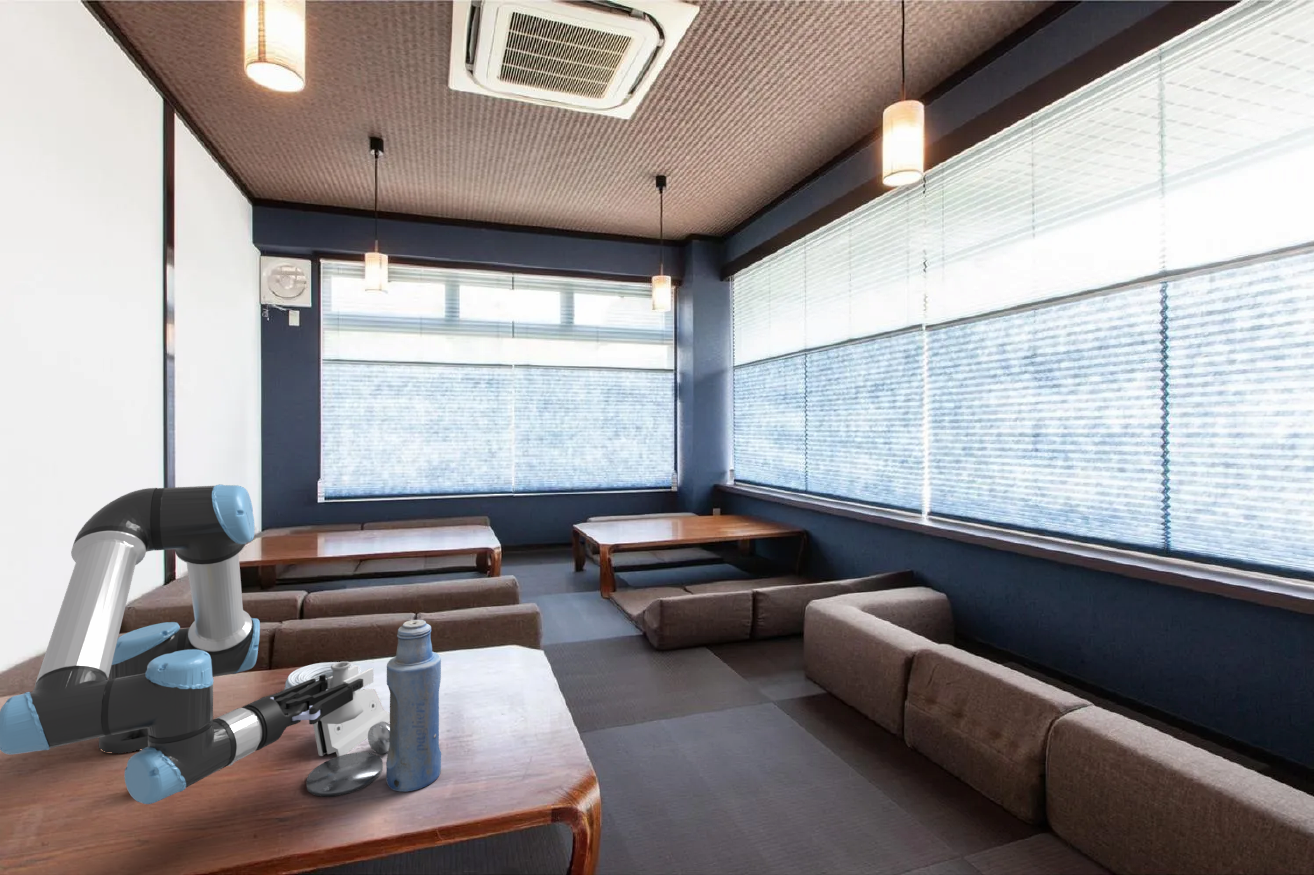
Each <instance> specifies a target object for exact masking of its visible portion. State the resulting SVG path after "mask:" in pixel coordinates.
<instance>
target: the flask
mask: <svg viewBox="0 0 1314 875" xmlns="http://www.w3.org/2000/svg"><path fill="white" fill-rule="evenodd" d="M338 662H339V661H338ZM351 664H352V663H351V662H350V661H340V662H339V663H335V664H333V665H332V666H331V669H332V670H333V677H332V682H331V687H330V689H331V688H334V687H336V686H339V685H341V684H343V681H344V680H346V679H349V678H350V676H349V667H350V666H351ZM362 712H363V709H362V707H361V704H360V702H359V700H358V698H357V696H356V694H355V692H353V700H352V701H350V702H349V703H347V704H345V705H343V706H342V707H340V708H338V709H336V710H335V711H333V712H331V713H329V714H328V715H326V716H324V717H322V718H321V719H320V720H321V721H322V722H323V723H324V724H341V723H343V722H346V721H349V720H352V719H355V718H356V717H357V716H358V715H360V714H361V713H362Z"/></svg>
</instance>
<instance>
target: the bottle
mask: <svg viewBox="0 0 1314 875" xmlns="http://www.w3.org/2000/svg"><path fill="white" fill-rule="evenodd" d="M431 632H432V626H431V625H430V624H428V623H427V622H426V620H423V619H411V620H407V621H405V622H404V623H403V624H402V625H401V626H399V628H398V629H397V633H396V637H397V647H396V655H395V656H394V657H391V659H389V661H388V662H387V663H386V685H387V687H388V690H389V714H390V722H389V724H390V736H389V738H390V741H389V750H388V751H387V757H386V763H385V765H386V772H385V774H386V784H387V785H388V787H389V788H390V789H391V790H393V791H397V792H412V791H417V790H420V789H423V788H424V787H427V786H429V785H431V784H432V783H433V782H435V781H436V780H437V779H438V778H439V777H440V774H441V771H442V770H441V769H442V751H441V749H440V742H439V741H440V687H441V686H440V685H441V681H442V680H441V679H442V657H441V655H440V654H438V653H437V652H434V651H433V644H432V640H431V635H432V634H431Z"/></svg>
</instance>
